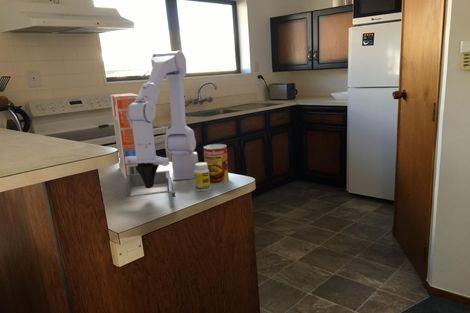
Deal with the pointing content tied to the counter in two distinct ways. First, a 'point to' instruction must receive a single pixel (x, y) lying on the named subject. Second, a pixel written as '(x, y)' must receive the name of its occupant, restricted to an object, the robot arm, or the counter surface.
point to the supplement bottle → (202, 177)
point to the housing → (137, 185)
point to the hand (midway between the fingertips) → (149, 187)
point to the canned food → (216, 162)
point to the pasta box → (124, 131)
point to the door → (171, 194)
